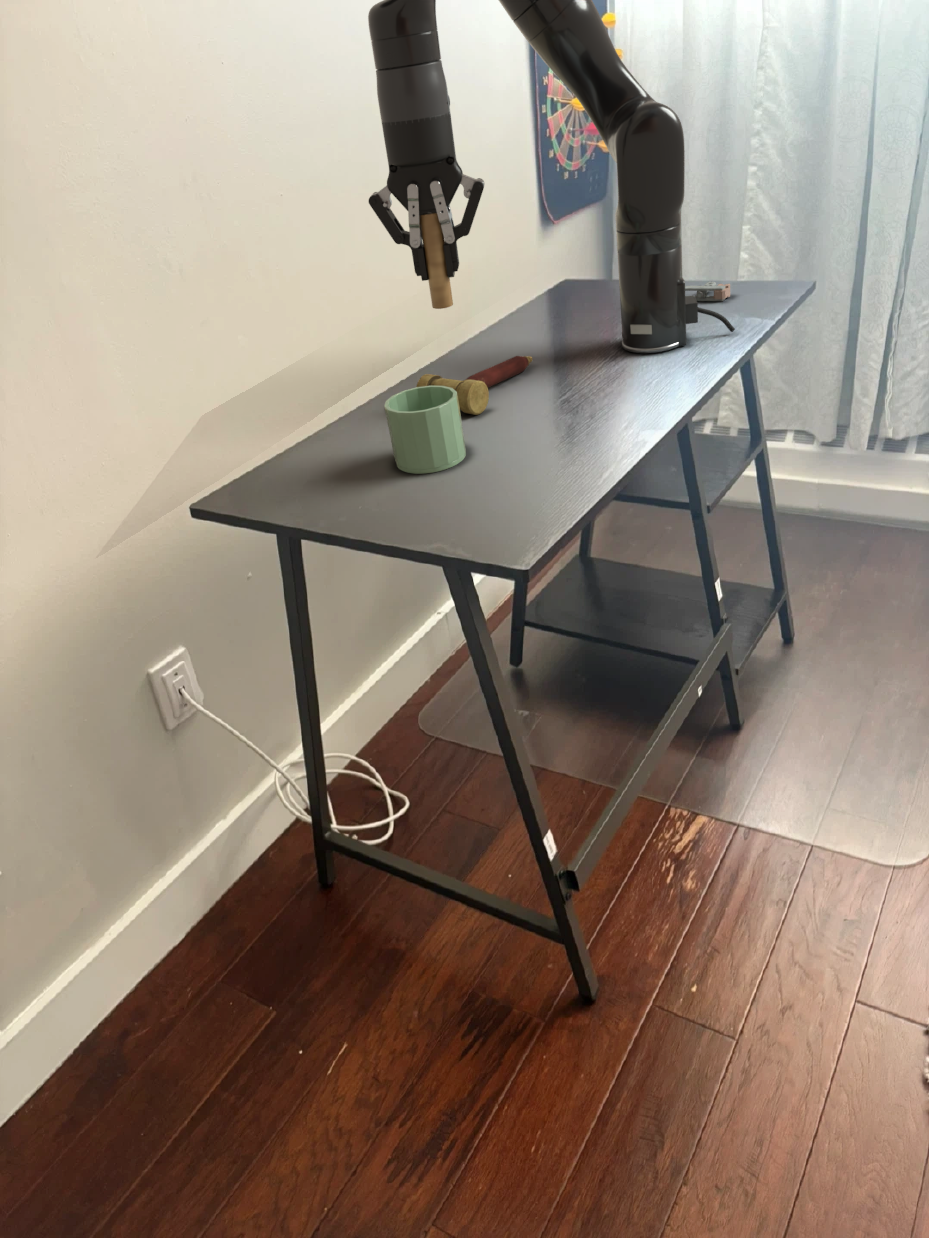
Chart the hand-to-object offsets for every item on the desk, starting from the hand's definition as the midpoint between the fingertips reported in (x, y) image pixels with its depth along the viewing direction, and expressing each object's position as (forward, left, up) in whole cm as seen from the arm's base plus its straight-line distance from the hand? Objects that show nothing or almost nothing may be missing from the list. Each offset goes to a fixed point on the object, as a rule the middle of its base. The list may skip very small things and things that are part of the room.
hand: (438, 276), depth 113 cm
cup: (+4, +3, -21) cm, 22 cm away
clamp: (-35, -53, -22) cm, 67 cm away
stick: (0, 0, -3) cm, 3 cm away
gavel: (-3, -20, -22) cm, 30 cm away
